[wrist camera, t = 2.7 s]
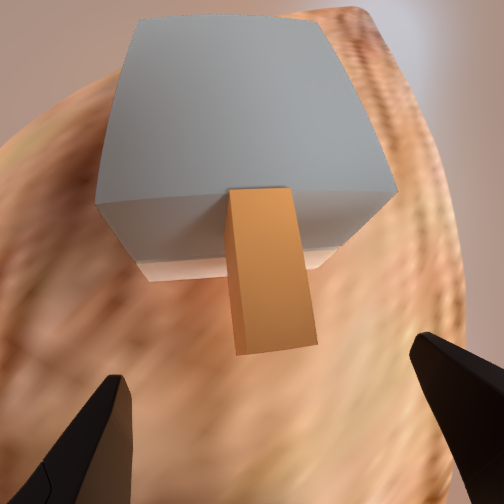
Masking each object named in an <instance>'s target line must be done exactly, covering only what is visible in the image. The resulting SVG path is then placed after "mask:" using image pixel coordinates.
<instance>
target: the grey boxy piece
mask: <svg viewBox="0 0 504 504" xmlns="http://www.w3.org/2000/svg"><path fill="white" fill-rule="evenodd" d="M397 192H398V189H397V186H396V184H395V181H394V178H393V175H392V173H391V170H390V167H389V165H388V162H387V159H386V157H385V154H384V152H383V149H382V147H381V145H380V142H379V140H378V137H377V135H376V133H375V130H374V128H373V126H372V124H371V121H370V119H369V117H368V115H367V113H366V111H365V108H364V106H363V104H362V102H361V100H360V98H359V96H358V94H357V92H356V90H355V88H354V86H353V84H352V82H351V80H350V78H349V76H348V74H347V73H346V71H345V69H344V67H343V65H342V63H341V62H340V60H339V58H338V56H337V55H336V53H335V51H334V49H333V48H332V46H331V44H330V43H329V41H328V39H327V38H326V36H325V34H324V33H323V31H322V29H321V28H320V26H319V25H318V23H317V22H312V21H305V20H298V19H290V18H281V17H271V16H256V15H234V14H229V15H228V14H207V15H206V14H205V15H182V16H169V17H159V18H150V19H142V20H139V21H138V24H137V26H136V29H135V32H134V34H133V37H132V40H131V43H130V46H129V49H128V52H127V55H126V58H125V61H124V64H123V68H122V71H121V74H120V78H119V81H118V85H117V89H116V92H115V96H114V100H113V104H112V108H111V112H110V116H109V121H108V125H107V130H106V135H105V140H104V145H103V150H102V156H101V161H100V167H99V174H98V180H97V187H96V195H95V203H94V204H95V206H96V207H97V209H98V211H99V212H100V214H101V215H102V217H103V218H104V220H105V221H106V222H107V224H108V225H109V227H110V228H111V230H112V231H113V233H114V234H115V236H116V237H117V238H118V240H119V241H120V243H121V244H122V246H123V247H124V248H125V250H126V251H127V253H128V254H129V255H130V257H131V258H132V259H133V261H139V260H153V259H167V258H181V257H195V256H209V255H223V254H225V256H226V266H227V276H228V285H229V295H230V304H231V313H232V323H233V331H234V340H235V349H236V356H237V355H247V354H256V353H264V352H272V351H279V350H286V349H293V348H300V347H306V346H312V345H318V341H317V334H316V328H315V321H314V314H313V308H312V302H311V296H310V289H309V283H308V277H307V272H306V266H305V260H304V254H303V249H306V248H320V247H334V246H342V245H343V244H344V243H345V242H347V241H348V240H349V239H350V238H351V237H352V236H353V235H354V234H355V233H356V232H357V231H358V230H359V229H360V228H361V227H362V226H364V225H365V224H366V223H367V222H368V221H369V220H370V219H371V218H372V217H373V216H374V215H375V214H376V213H377V212H378V211H379V210H380V209H381V208H382V207H383V206H384V205H385V204H386V203H387V202H388V201H389V200H390V199H391V198H392V197H393V196H394V195H395V194H396V193H397Z"/></svg>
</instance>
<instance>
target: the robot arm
mask: <svg viewBox="0 0 504 504" xmlns="http://www.w3.org/2000/svg"><path fill="white" fill-rule="evenodd" d="M409 356H410V360H411V362H412V365H413V367H414V370H415V372H416V375H417V378H418V380H419V383H420V385H421V388H422V391H423V393H424V395H425V397H426V400H427V402H428V404H429V406H430V408H431V410H432V412H433V414H434V416H435V418H436V420H437V422H438V424H439V427H440V429H441V431H442V433H443V435H444V437H445V440H446V442H447V444H448V446H449V449H450V451H451V453H452V456H453V458H454V460H455V463H456V465H457V467H458V469H459V472H460V475H461V477H462V480H463V482H464V484H465V488H466V490H467V493H468V496H469V498H470V501H471V504H504V369H502V368H500V367H498V366H496V365H494V364H492V363H491V362H489V361H486V360H484V359H483V358H480V357H478V356H477V355H475V354H472V353H471V352H469V351H467V350H465V349H463V348H461V347H459V346H457V345H454V344H452V343H450V342H448V341H446V340H444V339H442V338H440V337H438V336H436V335H434V334H432V333H430V332H423V333H419V334H418V335H417V336H416V337H415V340H414V342H413V345H412V347H411V350H410V353H409ZM132 455H133V433H132V398H131V393H130V391H129V388H128V386H127V384H126V381H125V379H124V377H123V376H122V375H108V376H107V377H106V378H105V379H104V381H103V382H102V383H101V384H100V386H99V387H98V388H97V390H96V391H95V392H94V393H93V395H92V396H91V397H90V398H89V400H88V401H87V402H86V404H85V405H84V406H83V407H82V409H81V410H80V411H79V413H78V414H77V415H76V417H75V418H74V419H73V420H72V422H71V423H70V424H69V426H68V427H67V428H66V430H65V431H64V432H63V434H62V435H61V436H60V438H59V439H58V440H57V442H56V443H55V444H54V446H53V447H52V448H51V450H50V451H49V452H48V454H47V455H46V456H45V458H44V459H43V462H41V463H40V464H39V466H38V467H37V468H36V470H35V471H34V472H33V474H32V475H31V476H30V478H29V479H28V480H27V482H26V483H25V484H24V485H23V486H22V487H21V489H20V490H19V491H18V492H17V493H16V494H15V495H14V497H13V498H12V499H11V500H10V501H9V502H8V503H7V504H130V497H131V472H132Z"/></svg>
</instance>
